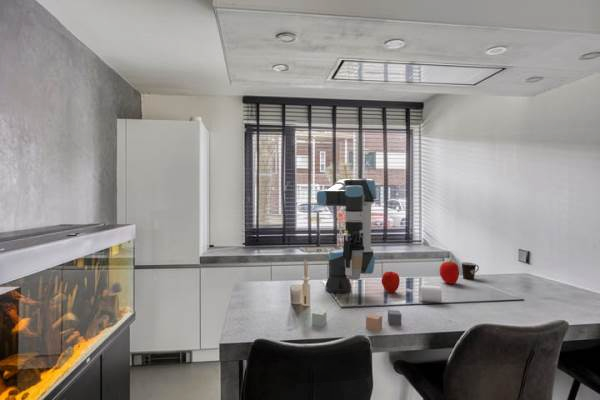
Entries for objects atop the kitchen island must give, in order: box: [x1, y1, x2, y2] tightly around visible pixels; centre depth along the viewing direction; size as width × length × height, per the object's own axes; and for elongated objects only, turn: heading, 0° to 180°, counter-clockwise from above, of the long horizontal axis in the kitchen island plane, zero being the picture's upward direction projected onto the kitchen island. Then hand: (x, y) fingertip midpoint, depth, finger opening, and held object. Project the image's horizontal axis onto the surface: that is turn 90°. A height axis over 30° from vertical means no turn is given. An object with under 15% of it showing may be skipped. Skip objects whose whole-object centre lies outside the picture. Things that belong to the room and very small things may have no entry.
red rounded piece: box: [381, 271, 401, 294], centre depth 197 cm, size 10×10×12 cm
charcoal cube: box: [387, 309, 402, 327], centre depth 150 cm, size 5×5×5 cm
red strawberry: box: [439, 260, 460, 285], centre depth 218 cm, size 13×11×14 cm
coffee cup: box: [342, 243, 364, 281], centre depth 151 cm, size 9×9×15 cm
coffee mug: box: [461, 262, 480, 281], centre depth 230 cm, size 12×9×10 cm
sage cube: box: [311, 309, 327, 327], centre depth 149 cm, size 5×5×5 cm
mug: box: [418, 285, 443, 303], centre depth 183 cm, size 12×10×8 cm
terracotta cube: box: [365, 313, 383, 332], centre depth 145 cm, size 5×5×5 cm
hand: (353, 272), depth 151 cm, fingers closed on coffee cup, 8 cm apart
